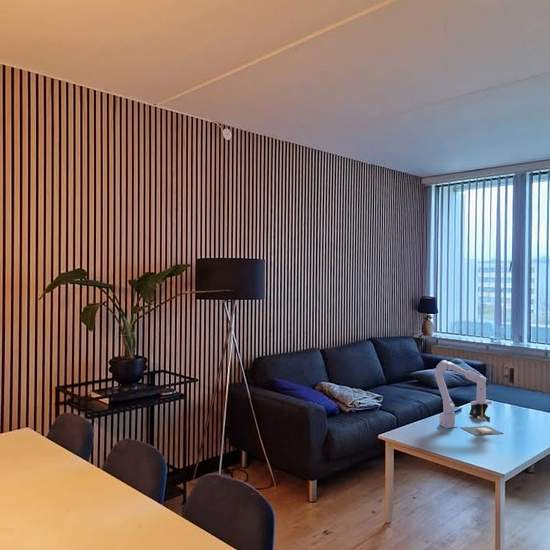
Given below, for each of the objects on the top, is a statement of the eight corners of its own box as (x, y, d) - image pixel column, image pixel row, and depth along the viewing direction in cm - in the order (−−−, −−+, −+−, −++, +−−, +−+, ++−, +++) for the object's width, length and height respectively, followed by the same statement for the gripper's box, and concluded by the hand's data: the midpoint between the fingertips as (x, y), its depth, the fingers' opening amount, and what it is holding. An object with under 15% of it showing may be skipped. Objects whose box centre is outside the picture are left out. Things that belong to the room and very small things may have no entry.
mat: (475, 435, 309) (475, 435, 309) (460, 428, 325) (460, 427, 325) (503, 433, 314) (503, 433, 314) (487, 426, 329) (487, 425, 329)
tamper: (480, 420, 318) (480, 405, 318) (477, 418, 321) (477, 404, 321) (485, 420, 318) (485, 405, 318) (481, 418, 322) (482, 403, 322)
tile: (476, 430, 319) (483, 433, 312) (476, 428, 319) (483, 431, 312) (485, 429, 321) (492, 432, 314) (485, 427, 321) (492, 430, 314)
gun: (492, 402, 339) (473, 393, 351) (486, 424, 342) (468, 414, 354) (494, 402, 340) (476, 392, 352) (488, 423, 344) (470, 413, 356)
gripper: (475, 396, 314) (475, 417, 314) (494, 395, 318) (494, 416, 318) (468, 394, 321) (468, 414, 321) (487, 393, 325) (487, 413, 324)
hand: (481, 415), depth 320 cm, fingers closed on tamper, 2 cm apart
